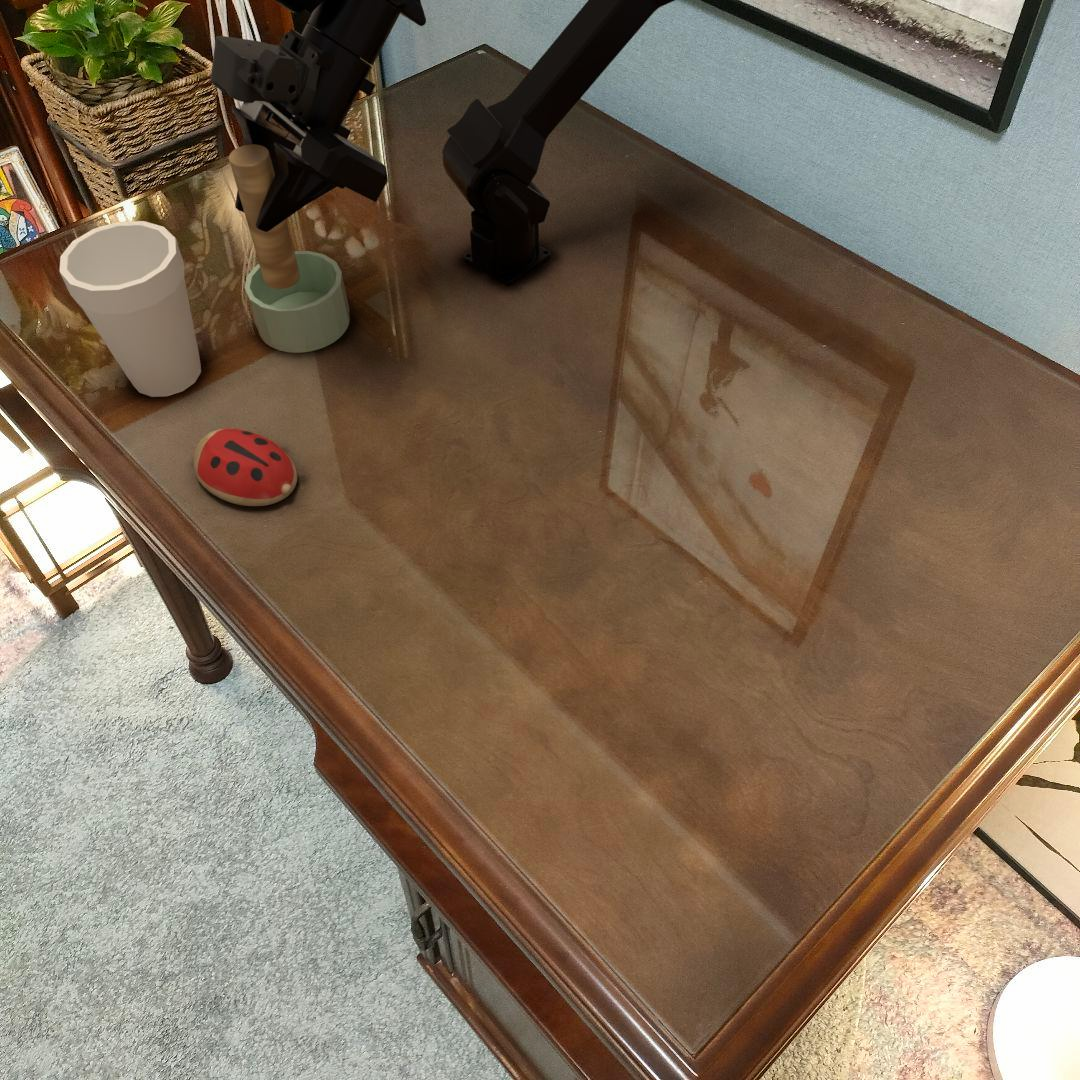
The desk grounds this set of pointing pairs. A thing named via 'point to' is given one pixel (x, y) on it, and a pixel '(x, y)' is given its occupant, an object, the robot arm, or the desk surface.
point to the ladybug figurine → (244, 468)
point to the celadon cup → (301, 306)
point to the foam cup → (136, 302)
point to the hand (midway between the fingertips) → (250, 220)
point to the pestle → (253, 187)
